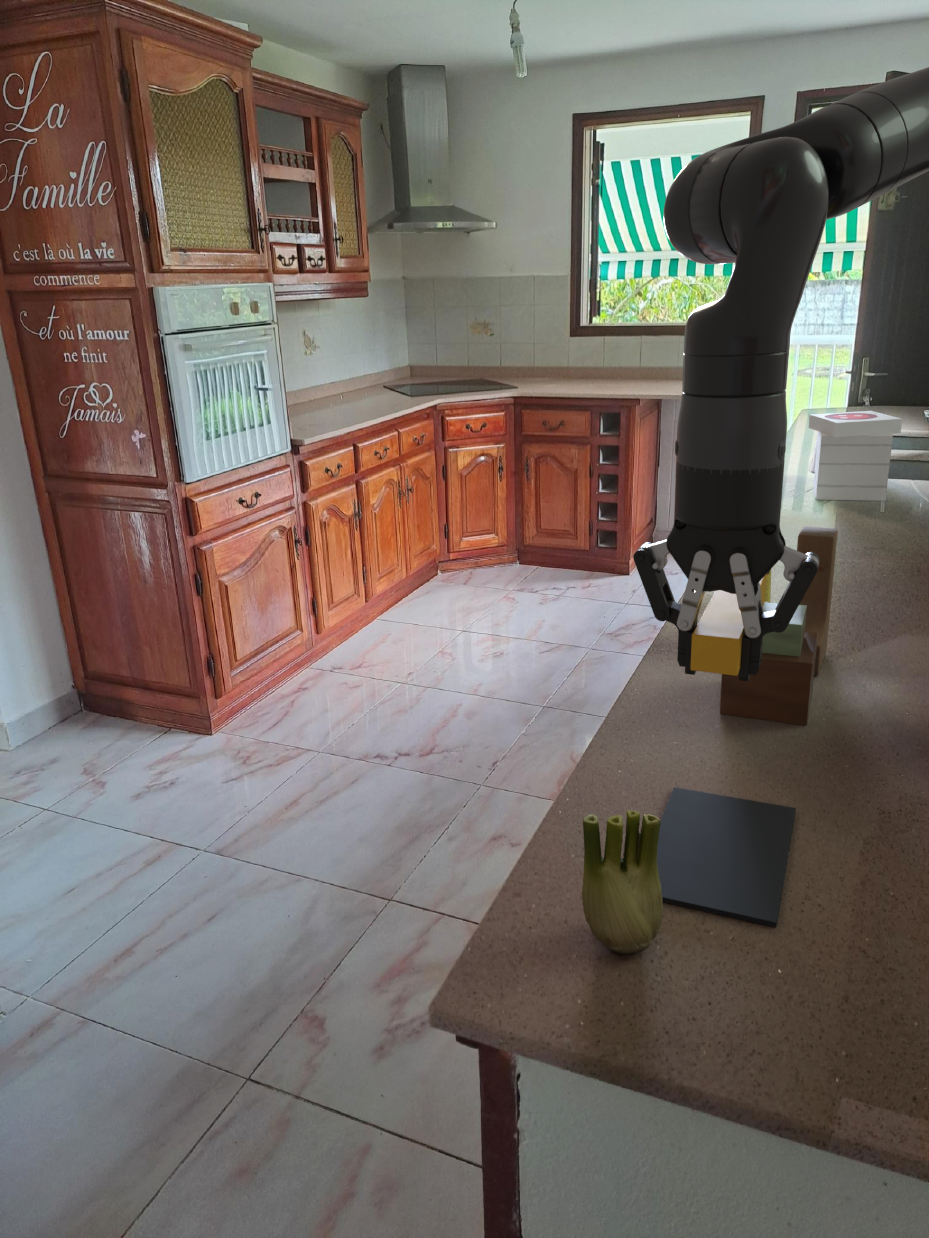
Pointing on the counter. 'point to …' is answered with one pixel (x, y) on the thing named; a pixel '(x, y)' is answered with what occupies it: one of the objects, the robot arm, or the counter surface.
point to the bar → (720, 634)
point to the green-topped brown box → (776, 676)
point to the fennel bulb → (622, 882)
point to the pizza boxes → (852, 454)
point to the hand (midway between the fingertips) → (717, 672)
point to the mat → (724, 854)
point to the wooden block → (819, 584)
